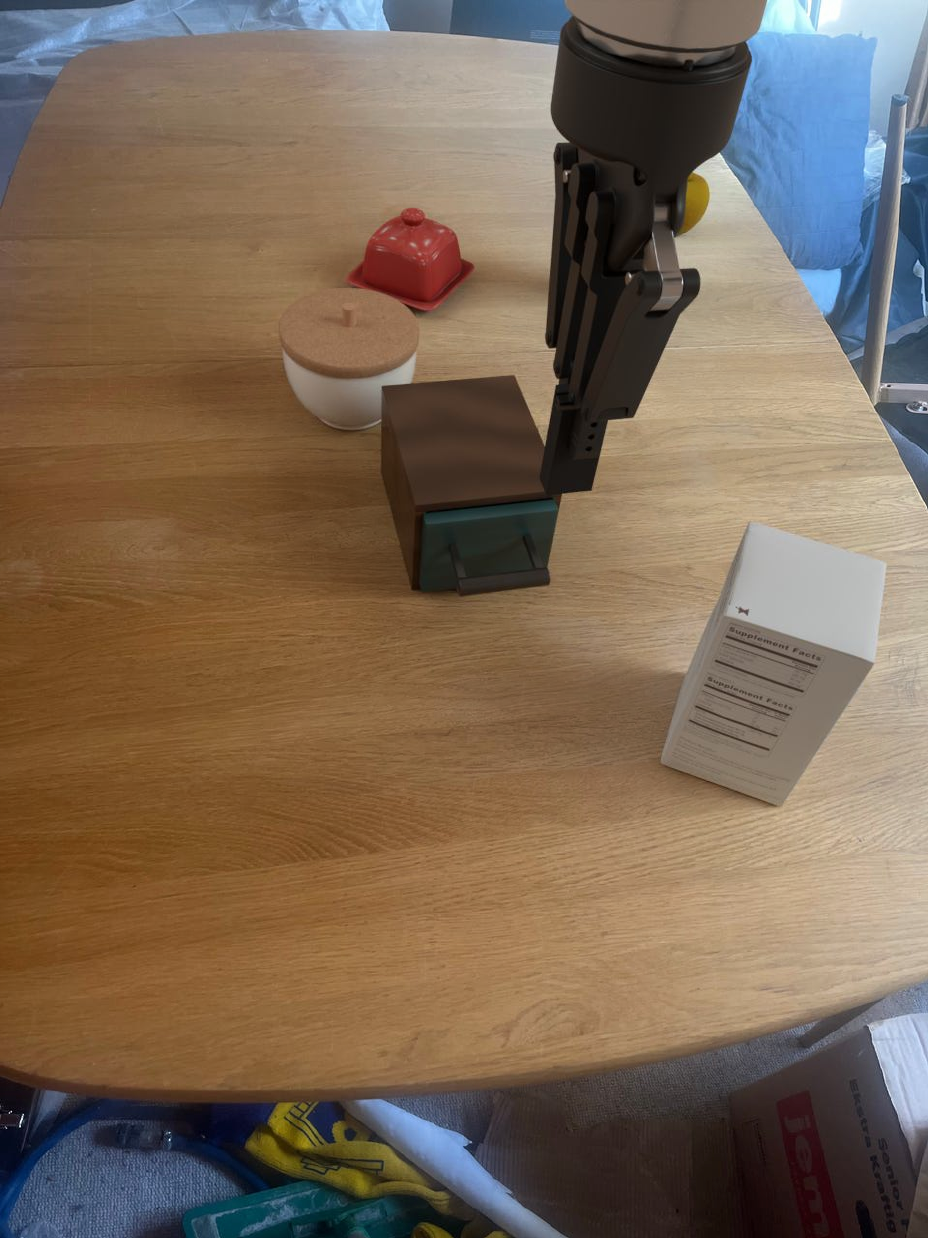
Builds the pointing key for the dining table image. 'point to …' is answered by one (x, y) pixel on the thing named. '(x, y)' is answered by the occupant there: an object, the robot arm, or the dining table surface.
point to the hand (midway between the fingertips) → (565, 483)
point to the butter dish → (412, 261)
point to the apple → (695, 201)
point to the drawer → (487, 547)
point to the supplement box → (776, 662)
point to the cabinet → (456, 452)
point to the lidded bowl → (347, 353)
